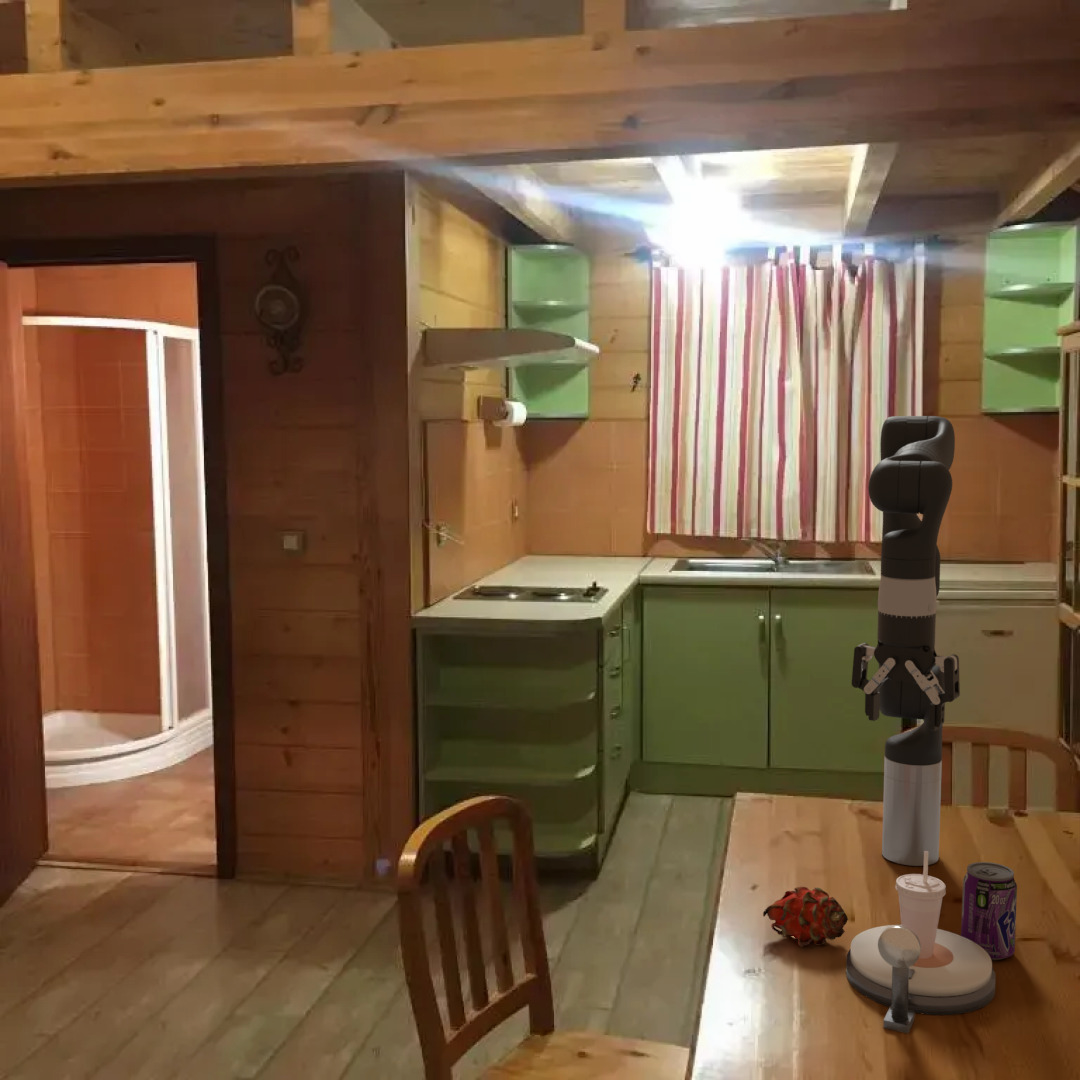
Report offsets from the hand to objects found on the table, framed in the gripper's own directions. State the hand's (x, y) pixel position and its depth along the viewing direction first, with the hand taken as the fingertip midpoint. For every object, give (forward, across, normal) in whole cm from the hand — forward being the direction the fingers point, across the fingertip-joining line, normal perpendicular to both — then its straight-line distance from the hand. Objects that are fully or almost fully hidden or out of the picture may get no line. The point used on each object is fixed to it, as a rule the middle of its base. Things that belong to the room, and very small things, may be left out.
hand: (903, 724), depth 169 cm
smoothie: (+29, -6, +7) cm, 30 cm away
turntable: (+30, -6, +7) cm, 32 cm away
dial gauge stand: (+32, -8, +20) cm, 39 cm away
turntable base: (+32, -6, +7) cm, 34 cm away
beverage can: (+33, -10, -7) cm, 35 cm away
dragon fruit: (+33, +12, +5) cm, 35 cm away
